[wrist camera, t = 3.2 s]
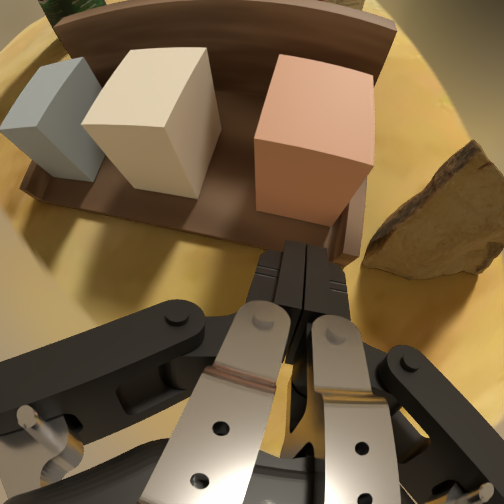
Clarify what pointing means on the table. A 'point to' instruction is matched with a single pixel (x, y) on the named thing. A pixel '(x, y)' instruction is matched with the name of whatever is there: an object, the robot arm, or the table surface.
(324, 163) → the key terracotta
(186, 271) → the table surface
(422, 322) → the table surface
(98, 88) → the grey blue block
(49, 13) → the coffee jar
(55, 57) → the table surface
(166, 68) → the cream rectangular block
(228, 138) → the tray
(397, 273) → the rock
